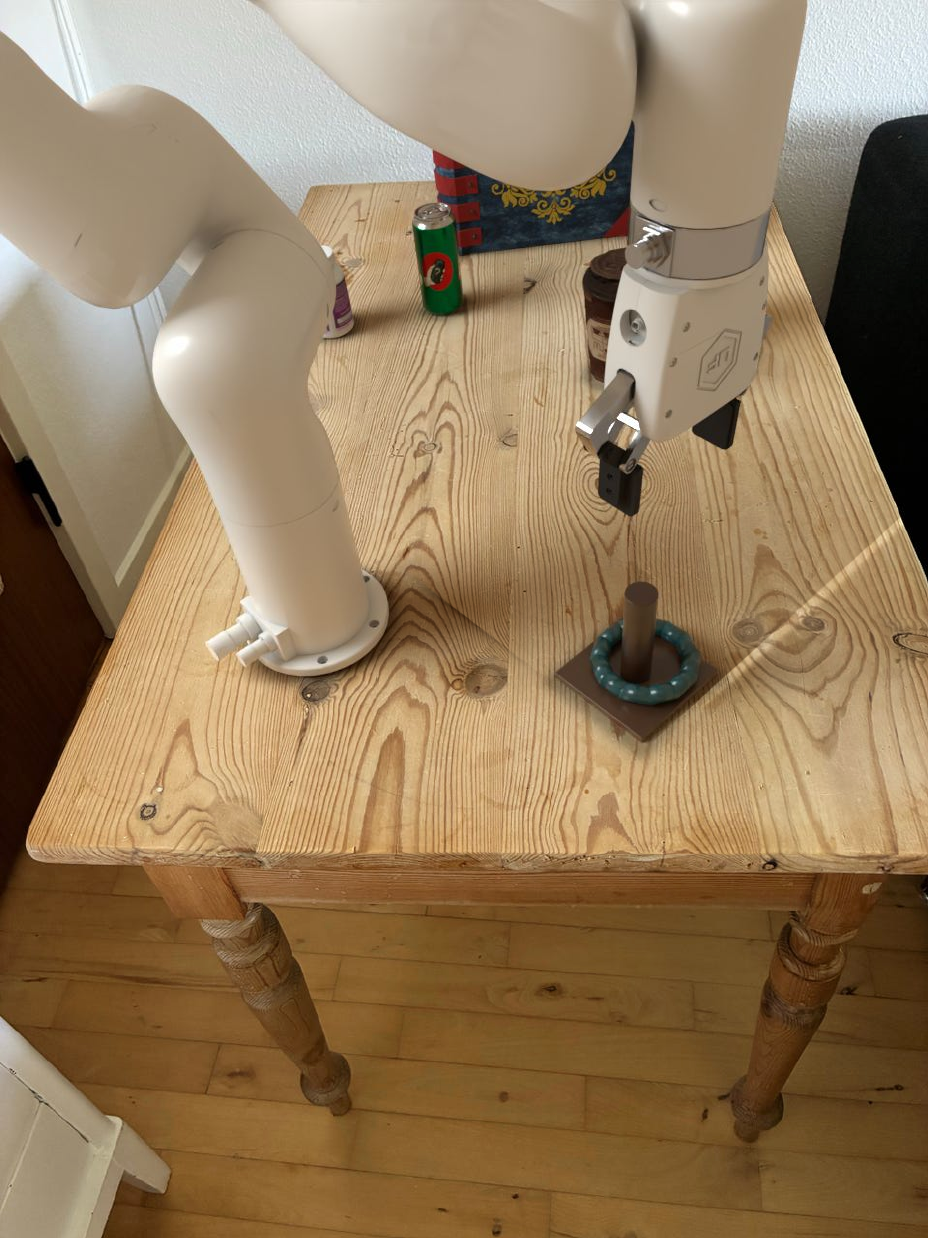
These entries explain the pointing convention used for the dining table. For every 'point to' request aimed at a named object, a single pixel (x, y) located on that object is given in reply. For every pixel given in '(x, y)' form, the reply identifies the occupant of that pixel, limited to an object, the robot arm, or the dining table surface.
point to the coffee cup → (601, 305)
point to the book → (535, 206)
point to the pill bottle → (339, 302)
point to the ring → (639, 692)
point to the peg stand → (635, 667)
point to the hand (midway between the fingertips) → (666, 471)
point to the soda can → (438, 258)
